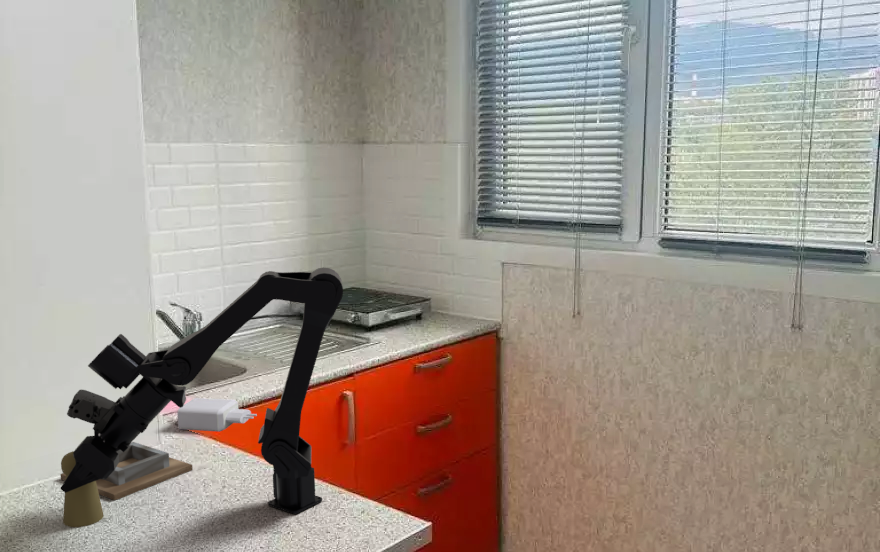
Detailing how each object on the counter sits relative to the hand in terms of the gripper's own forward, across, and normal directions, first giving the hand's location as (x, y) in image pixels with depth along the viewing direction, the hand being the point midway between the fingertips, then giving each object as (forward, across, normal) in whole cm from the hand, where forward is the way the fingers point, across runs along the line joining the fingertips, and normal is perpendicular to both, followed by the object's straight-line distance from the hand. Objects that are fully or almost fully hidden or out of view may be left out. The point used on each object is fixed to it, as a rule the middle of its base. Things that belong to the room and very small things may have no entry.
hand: (71, 478), depth 138 cm
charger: (-8, -43, +18) cm, 47 cm away
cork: (+4, 0, +6) cm, 7 cm away
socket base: (+2, -18, +8) cm, 19 cm away
